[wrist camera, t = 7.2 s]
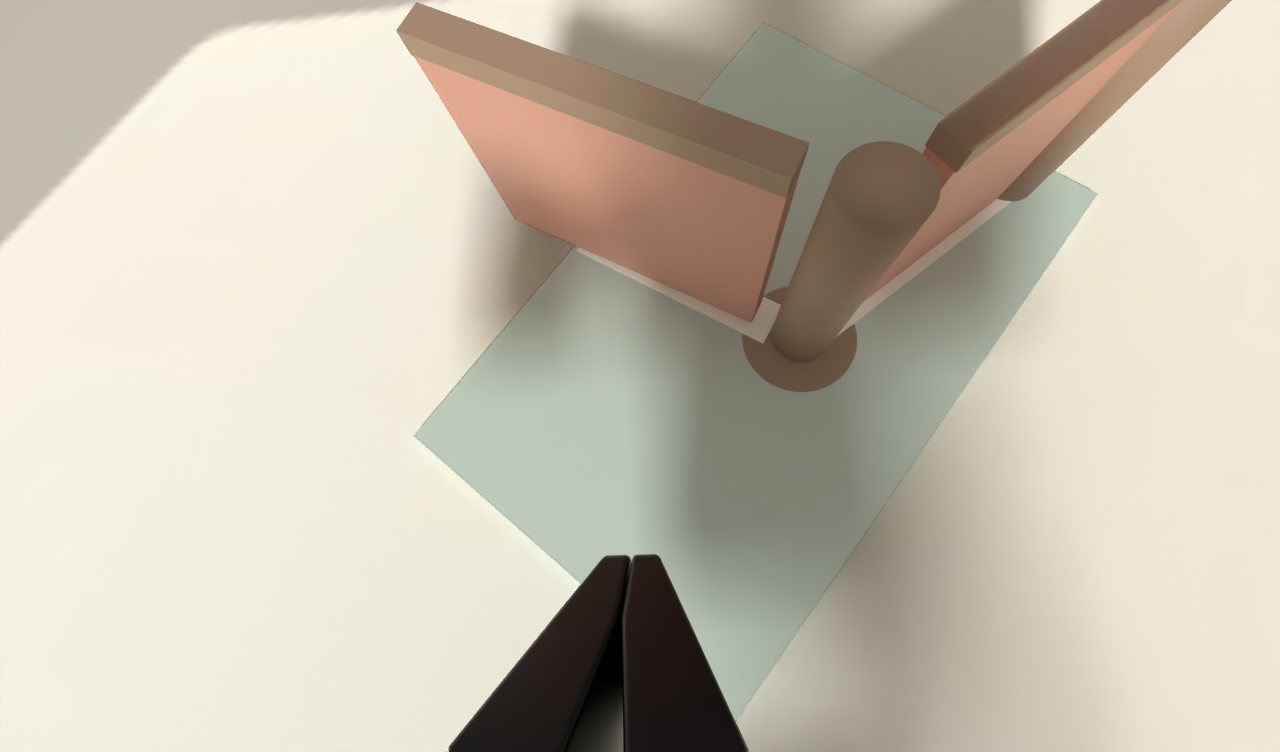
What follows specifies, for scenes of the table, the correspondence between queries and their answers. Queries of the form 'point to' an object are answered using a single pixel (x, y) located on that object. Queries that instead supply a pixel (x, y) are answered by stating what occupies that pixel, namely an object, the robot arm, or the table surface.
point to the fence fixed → (1018, 138)
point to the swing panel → (671, 179)
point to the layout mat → (741, 386)
